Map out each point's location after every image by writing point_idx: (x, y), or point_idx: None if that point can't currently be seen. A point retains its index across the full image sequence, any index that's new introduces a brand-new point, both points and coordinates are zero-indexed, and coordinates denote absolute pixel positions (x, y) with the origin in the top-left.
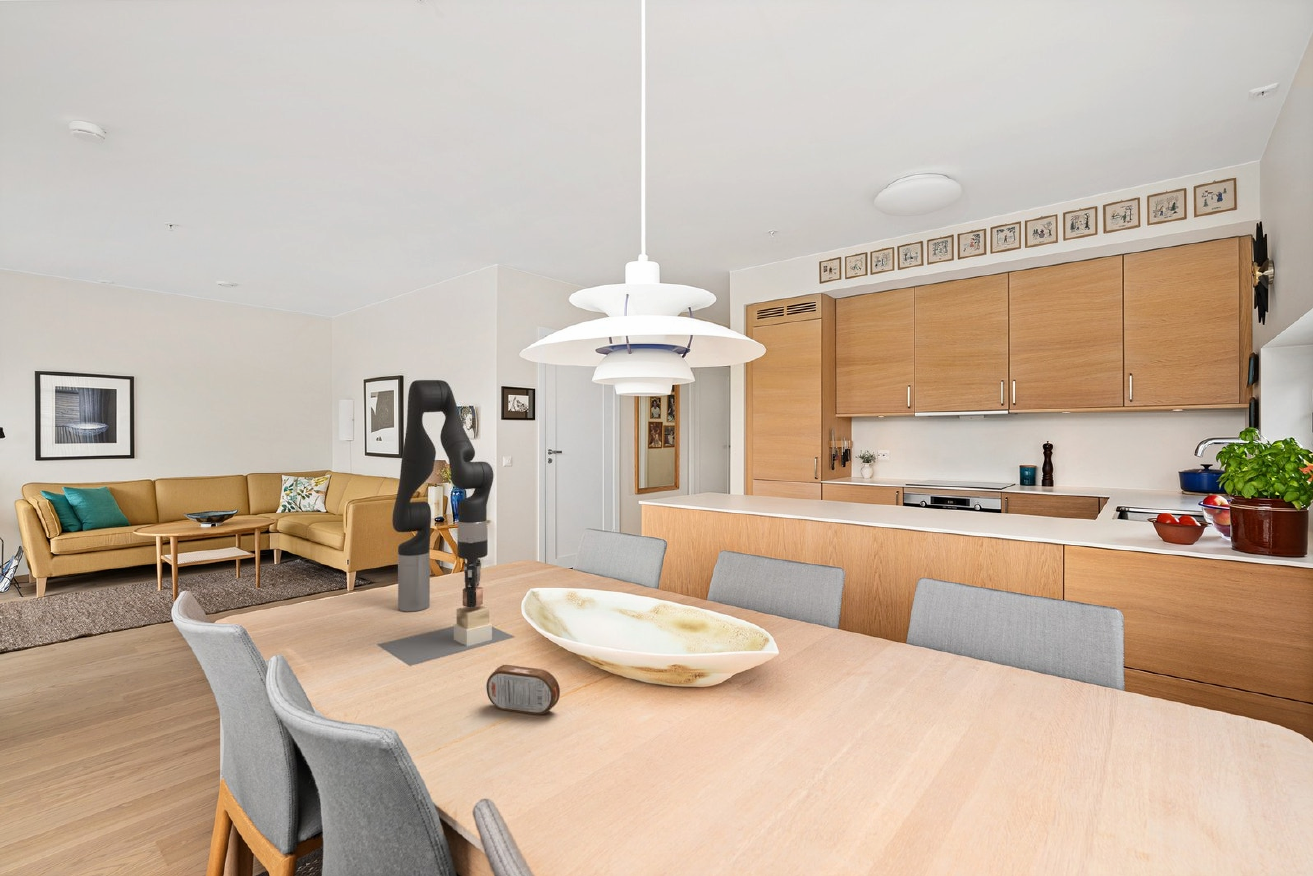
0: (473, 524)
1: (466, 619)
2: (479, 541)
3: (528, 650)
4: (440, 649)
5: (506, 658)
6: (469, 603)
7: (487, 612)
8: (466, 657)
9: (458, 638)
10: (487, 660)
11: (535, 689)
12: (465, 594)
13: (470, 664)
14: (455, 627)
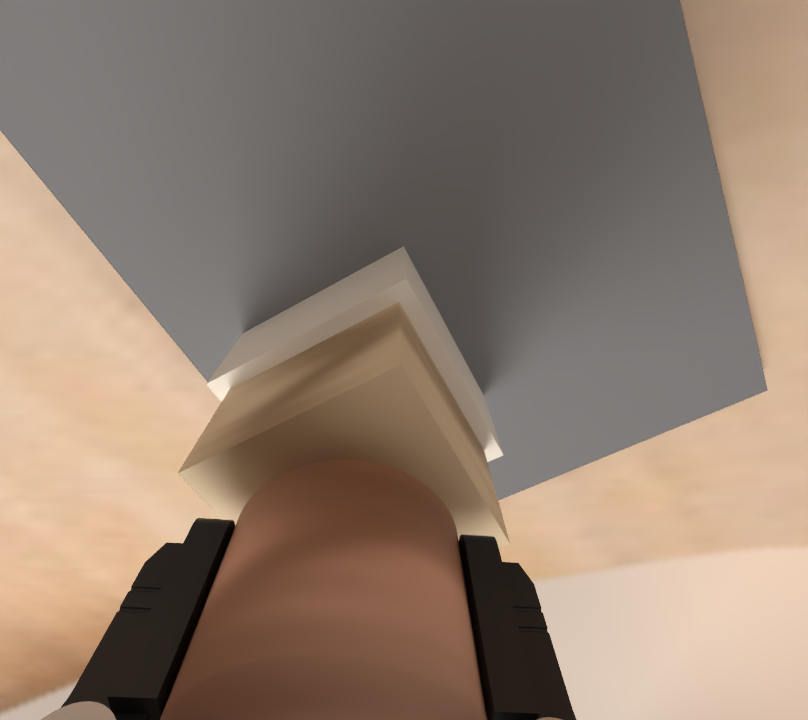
0: None
1: (220, 424)
2: None
3: None
4: (199, 156)
5: (101, 502)
6: (147, 574)
7: None
8: (126, 322)
9: (339, 287)
10: (73, 425)
11: None
12: (208, 630)
13: (8, 345)
14: (380, 287)
